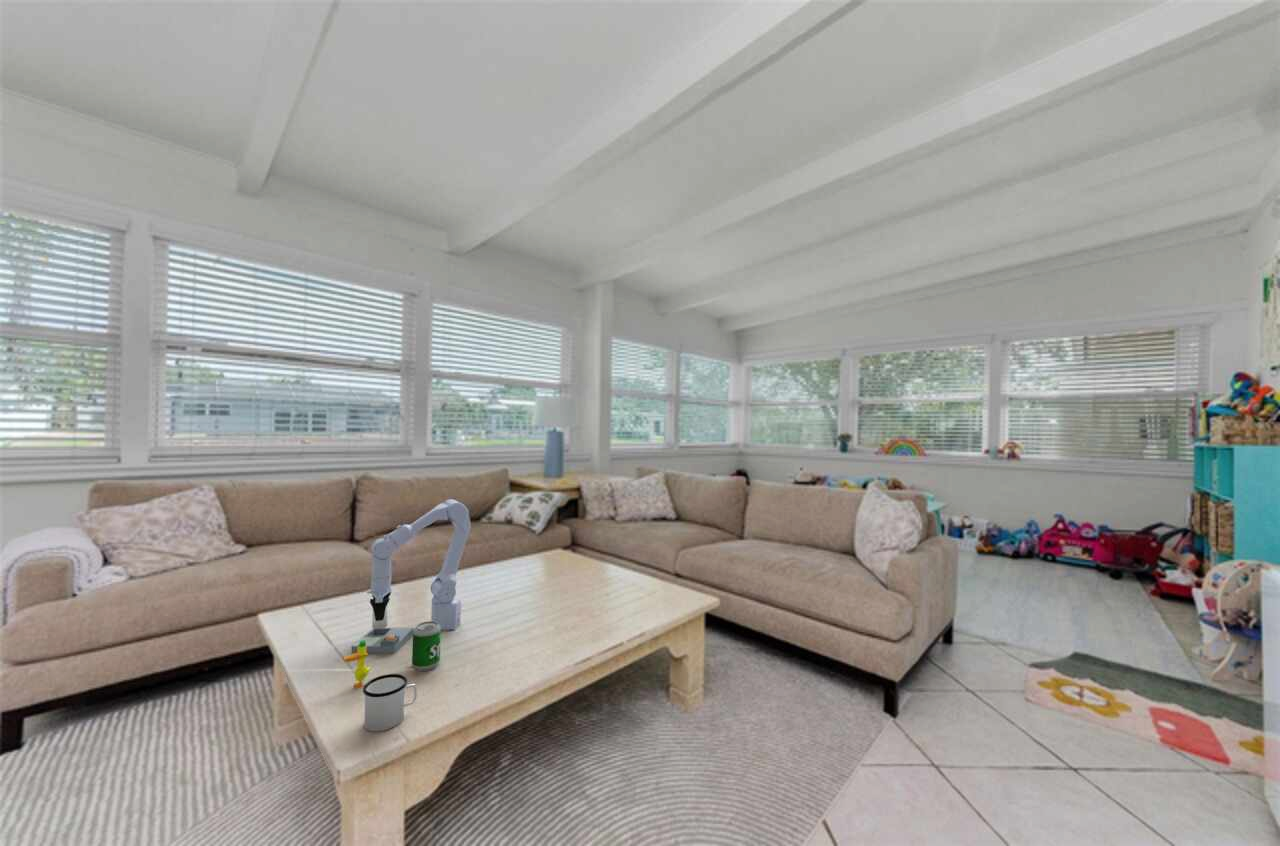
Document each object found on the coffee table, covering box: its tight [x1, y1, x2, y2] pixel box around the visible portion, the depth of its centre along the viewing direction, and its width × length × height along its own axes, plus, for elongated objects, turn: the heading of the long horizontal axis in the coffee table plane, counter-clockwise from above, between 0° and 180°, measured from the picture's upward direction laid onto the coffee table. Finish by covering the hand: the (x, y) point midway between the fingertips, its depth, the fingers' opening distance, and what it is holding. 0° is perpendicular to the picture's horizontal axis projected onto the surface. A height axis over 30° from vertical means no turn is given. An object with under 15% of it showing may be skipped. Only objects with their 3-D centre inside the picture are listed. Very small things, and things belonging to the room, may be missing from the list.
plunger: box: [385, 635, 395, 641], centre depth 151 cm, size 3×3×2 cm
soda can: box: [411, 620, 442, 672], centre depth 142 cm, size 8×8×12 cm
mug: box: [362, 673, 418, 732], centre depth 117 cm, size 12×10×9 cm
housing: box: [351, 627, 414, 654], centre depth 156 cm, size 13×14×4 cm
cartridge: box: [371, 604, 389, 629], centre depth 159 cm, size 4×4×7 cm
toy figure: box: [343, 640, 372, 689], centre depth 131 cm, size 7×4×12 cm, turn 132°
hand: (380, 617), depth 159 cm, fingers closed on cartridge, 4 cm apart
